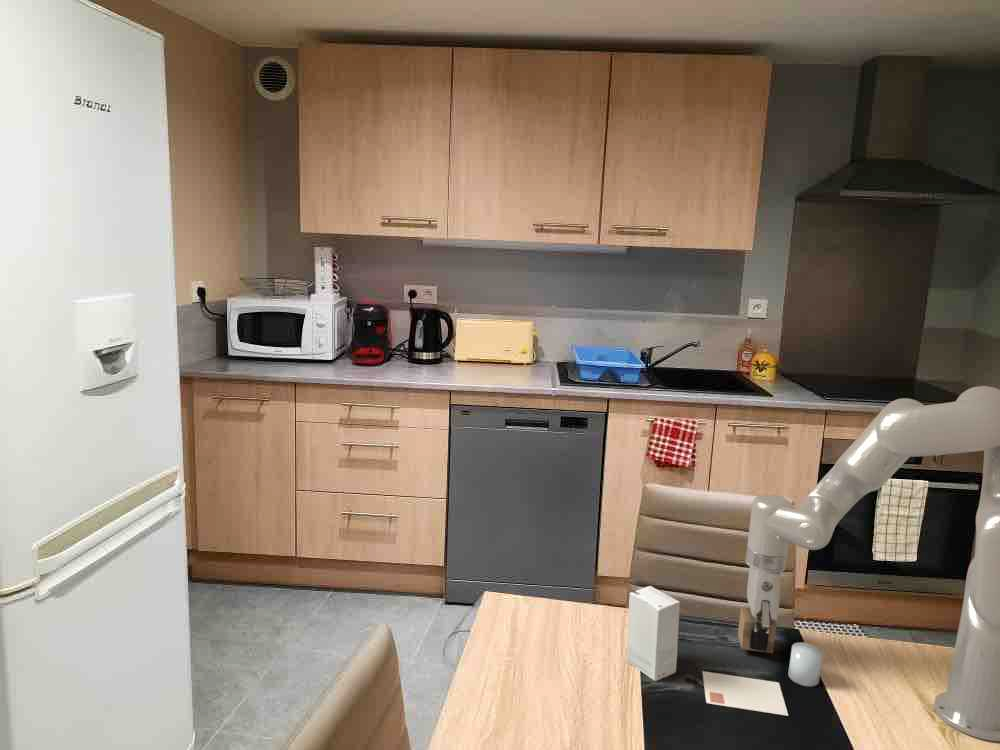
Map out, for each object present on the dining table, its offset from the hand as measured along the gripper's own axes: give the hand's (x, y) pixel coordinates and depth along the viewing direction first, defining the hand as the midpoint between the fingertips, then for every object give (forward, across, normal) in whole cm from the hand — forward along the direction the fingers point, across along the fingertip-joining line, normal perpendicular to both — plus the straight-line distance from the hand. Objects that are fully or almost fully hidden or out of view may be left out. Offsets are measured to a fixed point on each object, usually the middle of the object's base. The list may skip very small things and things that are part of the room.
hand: (755, 639), depth 152 cm
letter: (+2, -16, +4) cm, 17 cm away
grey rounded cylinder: (+2, -8, -8) cm, 11 cm away
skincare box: (+2, -12, +21) cm, 24 cm away
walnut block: (+1, 0, 0) cm, 1 cm away
